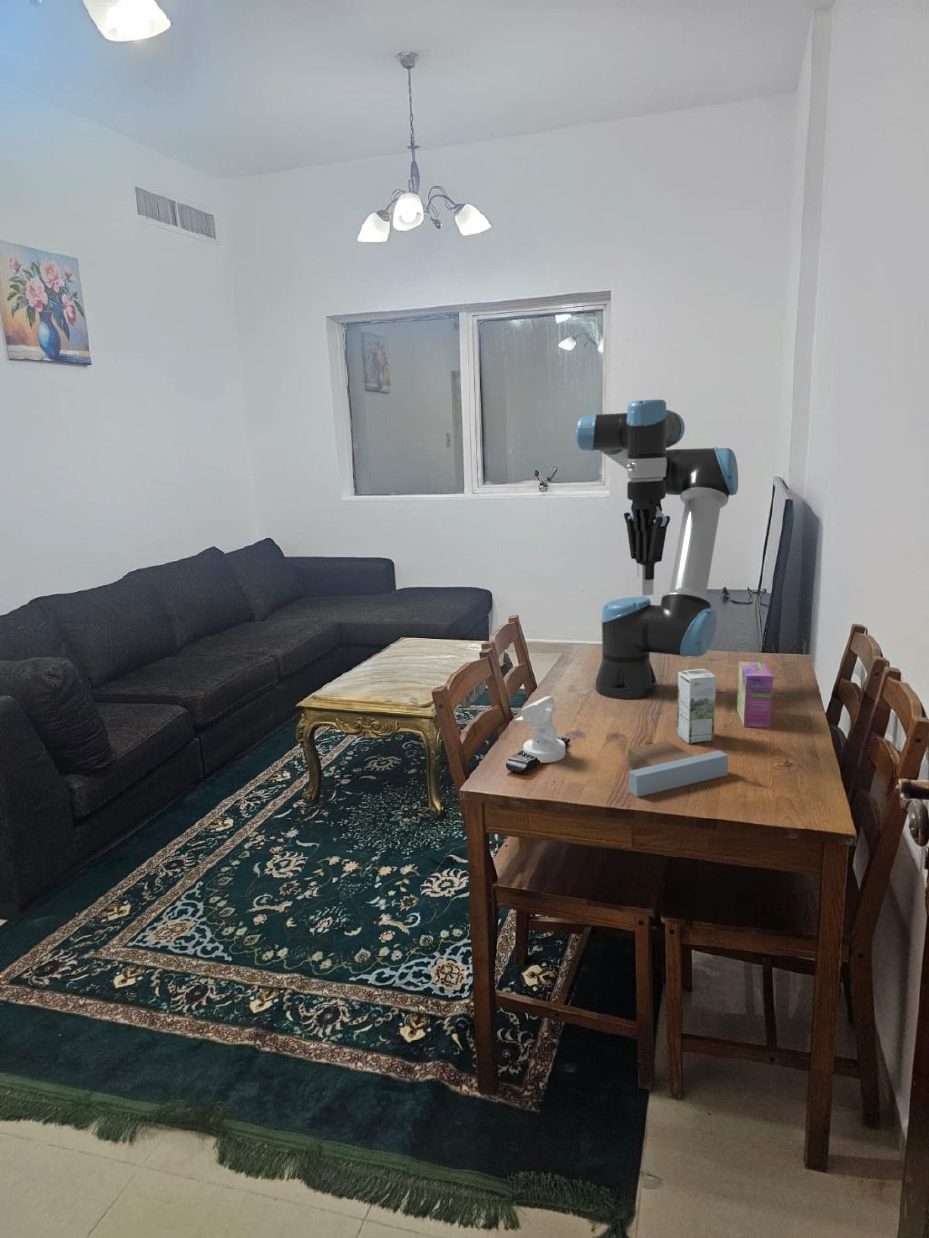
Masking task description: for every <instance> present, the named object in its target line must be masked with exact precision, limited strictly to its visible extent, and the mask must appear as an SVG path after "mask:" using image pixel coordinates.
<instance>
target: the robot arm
mask: <svg viewBox="0 0 929 1238" xmlns="http://www.w3.org/2000/svg"><path fill="white" fill-rule="evenodd" d="M685 428H686V427H685V422H684V419H683V418H682V416H681V415H680V414H679V413H677V412H675V411H671V410H670V409H667V402H666V400H664V399H643V400H642V399H641V400H632V401H631V402H629V403H628V406H627V412H621V413H619V412H618V413H602V414H598V413H594V414H589V415H583V416H581V417H580V418H579V419H578V422H577V424H576V429H575V438H576V439H575V441H576V443H577V446H578V447H579V449H580V450H582V451H590V452H593V451H600V452H601V453H603V454H604V455H606V456H607V457H608V458H610V459H611V460H613V461H614V462H616V463H617V464H618V465H620V466H621V467H623V468H624V469H626V470H627V478H628V479H629V481H628V482H627V487H626V488H627V489H626V490H627V492H626V493H627V495H626V497H627V499H628V500H630V501H632V503H631V506H630V511H628V512H624V513H623V517H624V520H625V523H626V531H627V537H628V538H627V539H628V543H629V545H628V546H629V551H630V553H629V554H630V558H631V559H632V560H635V562H636V564H637V579H638V582H637V585H638V586H637V587H638V589H637V590H638V591H637V594H638V595H639V596H632V597H631V596H630V597H624V598H619V599H614V600H611V601H609V602H607V603H605V604H604V605H603V607H602V612H601V613H602V614H601V617H602V618H601V621H600V623H601V643H602V644H601V646H602V651H601V652H602V660H601V663H600V667H599V669H598V673H597V676H596V678H595V691H596V692H597V693H599V694H601V695H603V696H604V697H608V698H609V697H610V698H616V699H640V698H646V697H650V696H652V695H654V694H655V693H656V692H657V689H658V688H657V687H658V686H657V685H658V684H657V679H656V675H655V672H654V670H653V667H652V666H653V665H652V663H651V660H650V659H651V658H650V654H651V653H652V654H661V655H662V654H663V655H672V656H679V657H683V658H684V657H685V658H686V657H693V658H694V657H696V658H697V657H701V656H704V655H705V654H706V653H707V652H708V651H709V649H710V647H711V646H712V643H713V640H714V636H715V633H716V628H717V625H716V624H717V618H718V617H717V613H716V611H715V610H714V609H713V608H712V602H711V601H710V600H709V599H708V597H707V593H708V585H709V581H710V580H709V579H710V573H711V567H712V562H713V555H714V550H715V542H716V537H717V532H718V531H717V530H718V526H719V519H720V514H721V509H722V508H724V507H725V506H726V505H728V502H729V496H735V495H737V492H738V490H739V469H738V462H737V461H738V460H737V458H736V455H735V454H736V453H734V451H733V450H732V449H731V448H729V447H716V446H715V447H713V448H711V447H710V448H709V447H708V448H680V449H679V448H673V449H669V448H670V447H673V446H674V445H677V444H678V443H680V441H681V439H683V436H684V435H685ZM667 495H670V496H679V498H680V501H681V502H682V503H683V504H684V507H683V514H682V518H681V519H682V520H681V524H680V525H681V526H680V530H679V534H678V535H679V536H678V542H677V547H676V554H675V559H674V564H673V571H672V577H671V582H670V586H669V587H670V588H669V591H668V592H667V593H665V594H663V595H662V597H661V600H660V605H657V604H656V605H655V604H651V603H652V602H651V600H650V598H649V597H645V596H651V595H654V582H655V581H654V580H655V564H656V563H659V562H662V559H663V554H664V549H665V541H666V535H667V529H668V525H669V523H670V521H671V517H670V515H665V514H664V513H663V507H662V504H661V502H662V500H663V499H665V498H666V496H667Z"/></svg>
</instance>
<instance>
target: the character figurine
mask: <svg viewBox="0 0 929 1238" xmlns="http://www.w3.org/2000/svg"><path fill="white" fill-rule="evenodd" d="M557 709H558V708H557V707H556V705H555V699H554V696H553V695H550V696H549V695H548V696H547V695H546V696H544V697H542V698H541V699H538V700H536V701H534V702H532V703H530V704H528V705H526V706H525V707H523V708H522V709H521V710H520V713H521V716H519V717H517V718H515V719H514V722H515V723H519V722H527V726H528V727H531V728H534V729H533V733H532V736H533V737H532V738H531V739H528V740H527V741H525V742H524V743H523V746H522V749H523V751H524V752H525V753H527V754H529V755H531V756H534V757H537V759H538V760H539V761H540V763H539V764H542V763H543V764H547V763H553V762H557V761H560V760H562V759H564V757H565V756H566V744H565V743H566V742H564V741H563V740H562V739H561V738H557V737H558V729H557V727H556V725H553V724H554V719H553V718H552V717H553V716H554V714H555V712H557ZM523 751H522V752H523ZM524 752H523V753H524Z"/></svg>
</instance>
